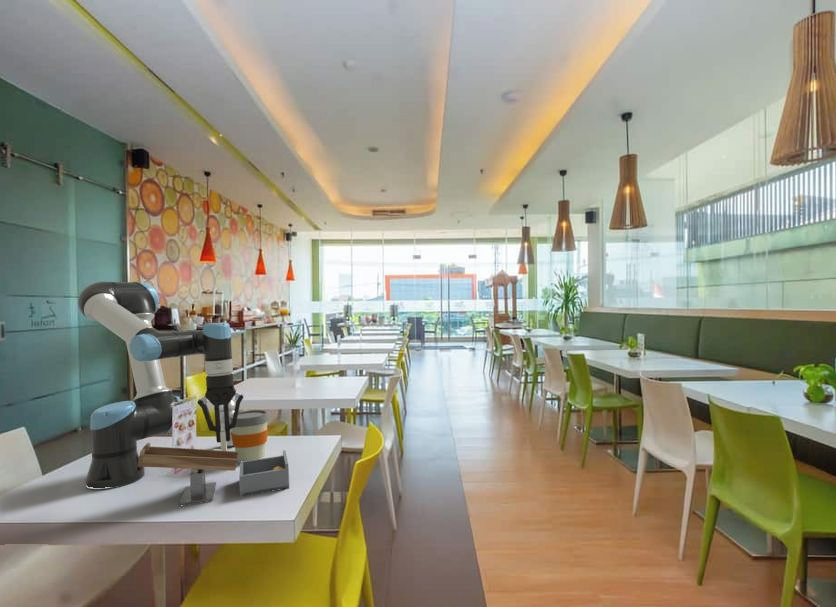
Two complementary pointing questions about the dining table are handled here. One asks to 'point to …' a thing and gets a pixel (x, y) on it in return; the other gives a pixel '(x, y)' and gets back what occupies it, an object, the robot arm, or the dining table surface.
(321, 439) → the dining table surface
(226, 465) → the chute
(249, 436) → the reusable coffee cup
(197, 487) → the stand
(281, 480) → the grey tray
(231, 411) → the plastic bottle
